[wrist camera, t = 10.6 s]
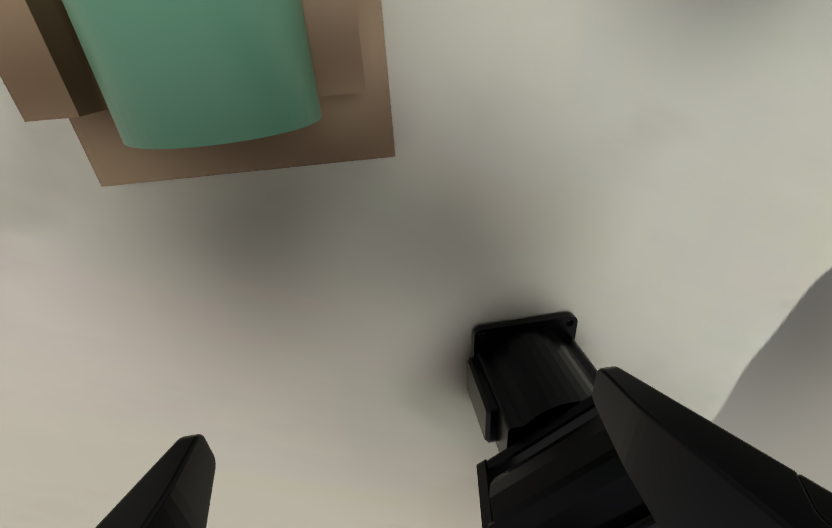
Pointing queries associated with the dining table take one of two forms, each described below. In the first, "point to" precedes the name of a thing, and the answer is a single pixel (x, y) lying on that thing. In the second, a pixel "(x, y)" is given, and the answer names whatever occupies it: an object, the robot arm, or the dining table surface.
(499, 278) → the dining table surface
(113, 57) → the small bottle
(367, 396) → the dining table surface
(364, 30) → the bottle rest
